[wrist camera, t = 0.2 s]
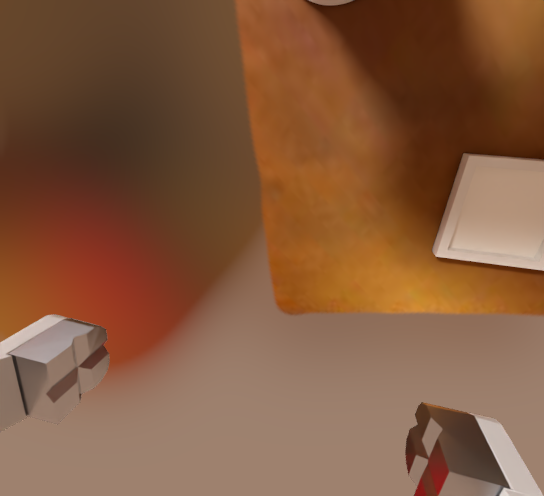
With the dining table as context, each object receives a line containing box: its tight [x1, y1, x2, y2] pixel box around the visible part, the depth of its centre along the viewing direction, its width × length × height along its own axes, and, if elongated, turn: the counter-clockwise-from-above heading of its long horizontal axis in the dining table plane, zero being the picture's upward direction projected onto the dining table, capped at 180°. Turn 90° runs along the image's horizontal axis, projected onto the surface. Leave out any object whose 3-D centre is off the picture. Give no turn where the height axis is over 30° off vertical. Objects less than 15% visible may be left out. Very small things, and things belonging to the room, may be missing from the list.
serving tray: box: [432, 153, 544, 271], centre depth 40 cm, size 14×14×2 cm
